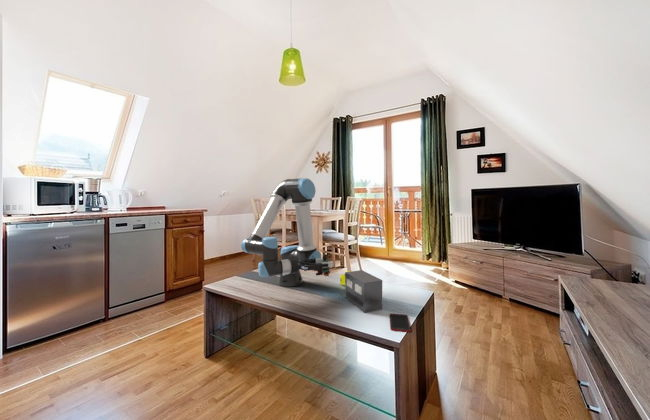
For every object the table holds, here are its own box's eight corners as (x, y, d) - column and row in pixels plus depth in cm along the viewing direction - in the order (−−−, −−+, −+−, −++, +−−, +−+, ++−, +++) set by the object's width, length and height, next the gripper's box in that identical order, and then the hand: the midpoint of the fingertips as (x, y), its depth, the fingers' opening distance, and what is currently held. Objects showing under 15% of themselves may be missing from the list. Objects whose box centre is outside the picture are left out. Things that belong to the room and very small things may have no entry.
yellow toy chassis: (366, 289, 152) (366, 275, 151) (361, 291, 148) (361, 277, 147) (345, 283, 163) (345, 270, 162) (339, 285, 159) (339, 271, 158)
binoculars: (313, 254, 147) (330, 253, 145) (315, 273, 147) (332, 272, 145) (309, 258, 138) (328, 256, 136) (311, 277, 138) (330, 276, 136)
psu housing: (344, 298, 137) (344, 272, 137) (361, 295, 141) (361, 270, 141) (363, 312, 120) (363, 282, 119) (382, 309, 124) (382, 280, 123)
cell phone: (390, 331, 104) (390, 329, 104) (389, 315, 118) (389, 313, 118) (411, 333, 102) (411, 331, 102) (407, 316, 117) (407, 314, 117)
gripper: (284, 268, 144) (322, 264, 152) (295, 279, 125) (338, 273, 133) (284, 255, 143) (322, 251, 152) (294, 264, 124) (338, 259, 133)
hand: (329, 262), depth 143 cm, fingers closed on binoculars, 8 cm apart
